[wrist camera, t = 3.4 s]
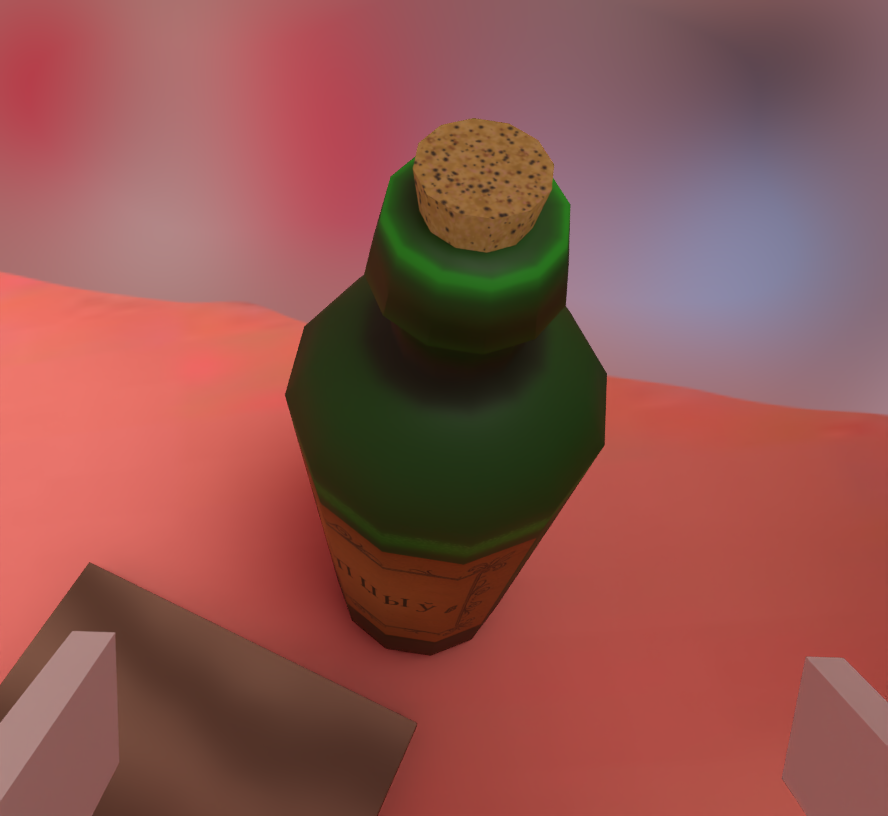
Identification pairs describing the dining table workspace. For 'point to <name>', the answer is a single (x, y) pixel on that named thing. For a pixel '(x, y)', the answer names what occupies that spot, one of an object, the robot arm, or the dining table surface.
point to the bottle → (449, 390)
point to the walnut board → (219, 715)
